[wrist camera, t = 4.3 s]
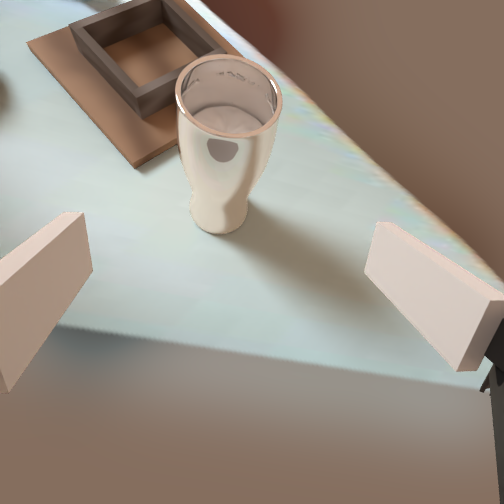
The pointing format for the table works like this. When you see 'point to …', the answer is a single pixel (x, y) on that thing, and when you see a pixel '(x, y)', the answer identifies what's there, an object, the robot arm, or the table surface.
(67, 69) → the holder board
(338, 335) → the table surface
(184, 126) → the beer glass
